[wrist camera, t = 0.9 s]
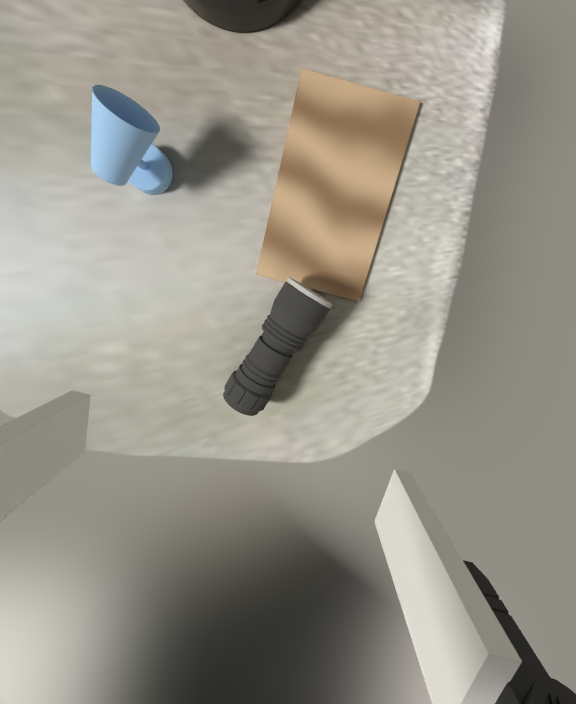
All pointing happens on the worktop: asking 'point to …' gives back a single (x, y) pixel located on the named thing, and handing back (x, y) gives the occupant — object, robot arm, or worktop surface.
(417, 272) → the worktop surface
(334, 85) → the mat
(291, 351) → the flashlight
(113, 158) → the spotlight
